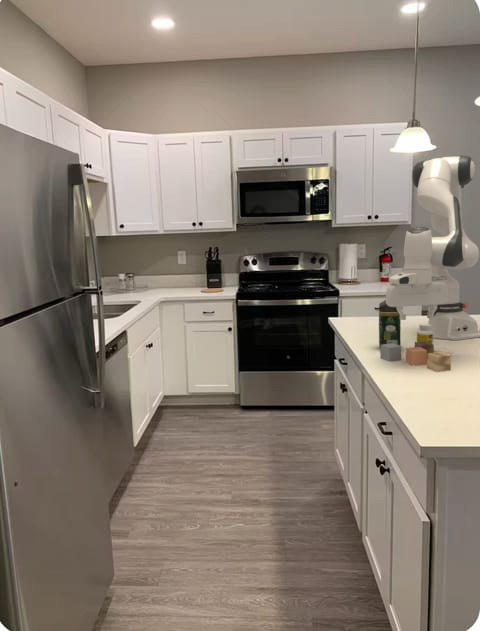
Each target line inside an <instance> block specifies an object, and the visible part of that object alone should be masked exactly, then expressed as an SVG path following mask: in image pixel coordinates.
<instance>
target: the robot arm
mask: <svg viewBox="0 0 480 631" xmlns="http://www.w3.org/2000/svg"><path fill="white" fill-rule="evenodd" d="M475 167H476V166H475V163H474V161H473V158H472V157H470V155H469V156H468V155H460V156H444V157H436V158H432V159H430V160H421V161H419V162H417V163H416V164H415V165H414V166H413V168H412V173H411V181H412V183H413V186H414V187H416V188H417V190H416V191H417V192H416V201H417V203H418V205H419V206H420V207H422V208H423V209H424V210H426V211H427V212H430V213H431V214H430V216H431V220H430V224H431V226H432V228H433V229H434V231H437V232H438V233H439V234H441V236H432V229H431V228H429V227H424V226H417V227H412V228H410V229H408V230H406V233H405V237H404V244H403V258H404V265H403V271H402V272H399V273H396V274H394V275H392V276H389V277H388V282H389V283H390V284H388V286H387V287H386V293H385V300H386V304H387V305H388V306H390V307H396V309H397V311H398V312H399V314H400V320H401V321H404V320H405V321H406V320H407V314H405V313H403V311H402V310H404V307H416V306H417V307H418V306H421V307H422V306H428V312H426V315H427V316H426V318H427V319H428V321H427V324H430V325H431V329H430V330H431V331H432V332H433V339H440V340H441V339H443V340H450V341H458V340H468V339H474V338H475V339H476V338H480V330H479V326H478V322H477V320H476V319H475V318H473V317H472V315H471V316H470V314H468V313H467V312H465V311H464V309H468V308H469V304H468V303H466V302H461V301H460V289H461V288H460V283H459V281H458V280H457V279H455V278H454V277H452V276H451V275H450V273H449V270H448V269H456V270H461V269H466V268H471V267H472V268H473V267H474V266H475V265H476V263H478V260H479V257H480V250H479V248H478V246H477V244H476V243H474V242H473V241H472V240H471V239H470V238H469V237H468V235H467V233H466V232H465V230H464V226H463V218H462V207H463V206H462V191H461V189H464V187H465V186H466V185H468V184H470V182H472V180H473V177H474V175H475V171H476V168H475Z"/></svg>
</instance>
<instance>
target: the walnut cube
mask: <svg viewBox="0 0 480 631" xmlns="http://www.w3.org/2000/svg"><path fill="white" fill-rule="evenodd" d="M414 347H421V348H423V349H425V350H427V358H428V353H434V352H435V351H434V350H435V348H434V347H435V345H434V344H433V343H431V342H417V341H414Z"/></svg>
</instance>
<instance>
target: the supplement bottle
mask: <svg viewBox="0 0 480 631" xmlns="http://www.w3.org/2000/svg"><path fill="white" fill-rule="evenodd" d="M418 326H419V327H418V328H419V329H418V330H417V332H416V333H417V334H416V342H431V343H432V344H433V339H434V338H433V332H432V331H431V330H430V329H431V325H430V324H428V323H421V324H419V325H418Z"/></svg>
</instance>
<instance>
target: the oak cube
mask: <svg viewBox="0 0 480 631" xmlns="http://www.w3.org/2000/svg"><path fill="white" fill-rule="evenodd" d="M451 364H452V354H448V353H446V352H444V351H436V352H435V351H434V353H428V358H427V365H426V366H427V367H426V369H429V370H432V371H434V372H436V373H439V372H440V373H441V372H446V371H447V370H448V371H451V368H452V366H451Z"/></svg>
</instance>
